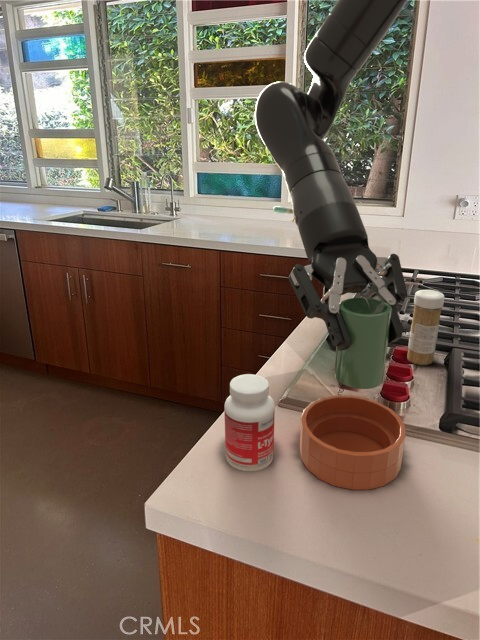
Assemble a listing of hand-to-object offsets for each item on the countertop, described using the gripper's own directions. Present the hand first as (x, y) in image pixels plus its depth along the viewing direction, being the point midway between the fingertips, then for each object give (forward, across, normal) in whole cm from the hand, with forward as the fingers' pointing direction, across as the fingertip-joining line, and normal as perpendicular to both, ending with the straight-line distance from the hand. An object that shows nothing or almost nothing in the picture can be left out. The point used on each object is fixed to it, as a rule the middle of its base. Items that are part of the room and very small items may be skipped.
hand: (370, 343), depth 52 cm
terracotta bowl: (+11, -1, +13) cm, 17 cm away
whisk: (-97, +62, +117) cm, 164 cm away
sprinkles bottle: (-2, +23, +26) cm, 35 cm away
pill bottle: (+8, -13, +16) cm, 22 cm away
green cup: (+2, 0, +5) cm, 5 cm away
